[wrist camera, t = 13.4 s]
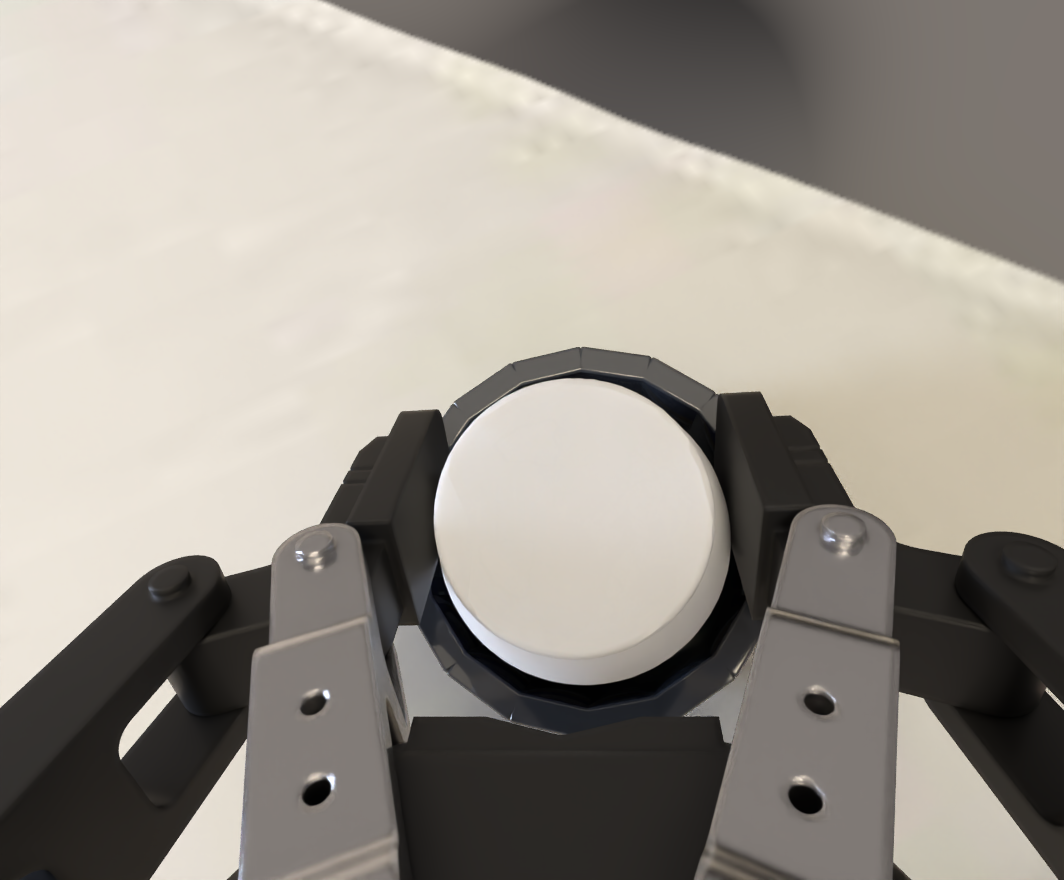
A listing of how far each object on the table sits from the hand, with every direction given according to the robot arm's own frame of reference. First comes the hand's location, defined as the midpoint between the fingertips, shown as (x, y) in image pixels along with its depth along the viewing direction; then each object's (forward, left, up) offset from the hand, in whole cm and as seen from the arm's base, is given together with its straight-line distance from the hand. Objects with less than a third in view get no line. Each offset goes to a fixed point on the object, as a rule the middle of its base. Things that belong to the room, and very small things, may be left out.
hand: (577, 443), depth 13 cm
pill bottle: (0, +2, -6) cm, 7 cm away
